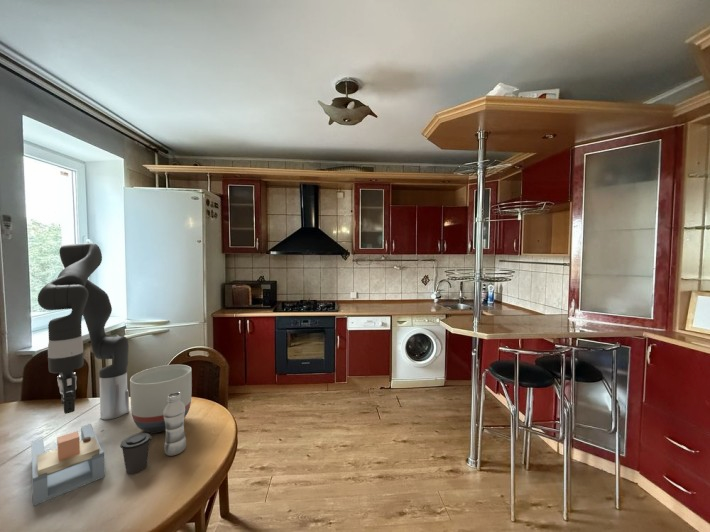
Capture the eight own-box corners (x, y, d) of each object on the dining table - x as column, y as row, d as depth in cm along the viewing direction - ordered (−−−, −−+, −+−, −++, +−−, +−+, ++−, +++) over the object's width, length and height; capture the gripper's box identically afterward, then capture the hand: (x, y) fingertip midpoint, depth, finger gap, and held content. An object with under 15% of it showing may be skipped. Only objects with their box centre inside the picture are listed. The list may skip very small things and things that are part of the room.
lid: (94, 442, 100) (94, 434, 99) (99, 455, 93) (99, 446, 93) (37, 462, 90) (36, 452, 90) (37, 477, 84) (37, 467, 83)
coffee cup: (118, 481, 91) (117, 448, 91) (123, 465, 99) (122, 434, 98) (150, 472, 95) (149, 440, 95) (153, 457, 102) (153, 427, 102)
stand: (91, 441, 112) (91, 420, 112) (104, 476, 93) (104, 452, 93) (31, 461, 101) (31, 438, 101) (33, 505, 82) (32, 478, 82)
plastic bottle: (190, 448, 107) (189, 391, 107) (173, 460, 101) (172, 400, 100) (176, 444, 109) (175, 389, 109) (159, 456, 103) (158, 397, 102)
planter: (143, 449, 106) (141, 388, 106) (123, 430, 119) (121, 375, 118) (201, 424, 123) (201, 371, 122) (179, 409, 135) (178, 361, 134)
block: (78, 447, 94) (77, 431, 94) (79, 453, 91) (79, 436, 91) (57, 454, 91) (57, 437, 90) (58, 460, 88) (58, 443, 87)
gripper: (86, 355, 88) (88, 411, 88) (80, 345, 97) (81, 395, 98) (49, 361, 82) (51, 421, 83) (46, 351, 92) (48, 404, 92)
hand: (68, 407), depth 90 cm, fingers open, 8 cm apart
